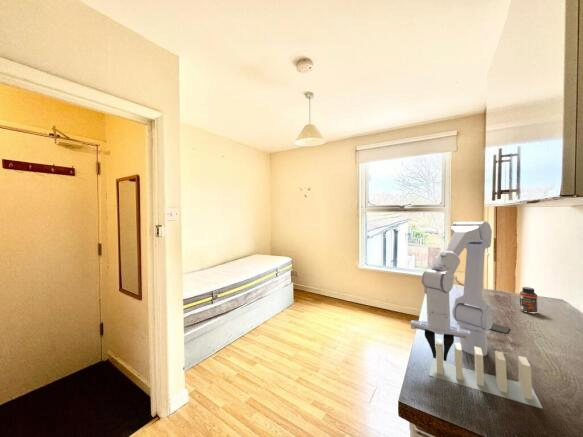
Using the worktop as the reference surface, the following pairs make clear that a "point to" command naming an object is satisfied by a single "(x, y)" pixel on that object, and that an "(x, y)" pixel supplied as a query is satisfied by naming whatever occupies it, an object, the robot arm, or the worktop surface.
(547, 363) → the worktop surface
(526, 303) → the supplement bottle
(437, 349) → the head domino
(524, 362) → the domino
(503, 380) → the domino
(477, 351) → the domino
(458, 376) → the domino
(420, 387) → the worktop surface
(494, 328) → the smartphone
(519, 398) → the board
